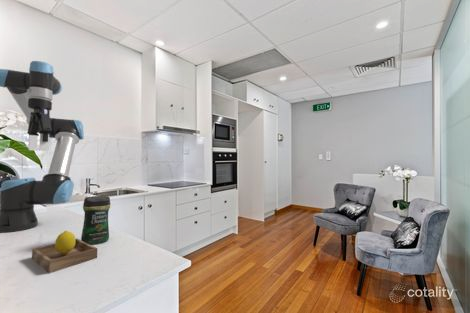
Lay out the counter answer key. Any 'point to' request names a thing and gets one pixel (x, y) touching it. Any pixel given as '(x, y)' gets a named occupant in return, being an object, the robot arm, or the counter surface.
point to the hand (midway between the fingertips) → (38, 150)
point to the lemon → (65, 242)
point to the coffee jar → (96, 220)
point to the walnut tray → (63, 256)
